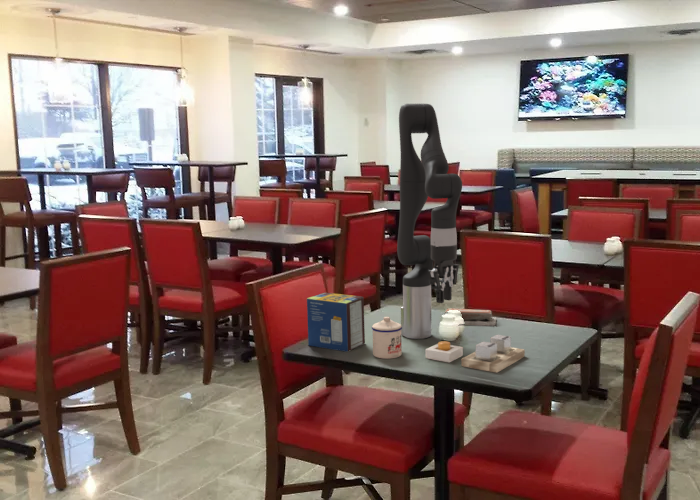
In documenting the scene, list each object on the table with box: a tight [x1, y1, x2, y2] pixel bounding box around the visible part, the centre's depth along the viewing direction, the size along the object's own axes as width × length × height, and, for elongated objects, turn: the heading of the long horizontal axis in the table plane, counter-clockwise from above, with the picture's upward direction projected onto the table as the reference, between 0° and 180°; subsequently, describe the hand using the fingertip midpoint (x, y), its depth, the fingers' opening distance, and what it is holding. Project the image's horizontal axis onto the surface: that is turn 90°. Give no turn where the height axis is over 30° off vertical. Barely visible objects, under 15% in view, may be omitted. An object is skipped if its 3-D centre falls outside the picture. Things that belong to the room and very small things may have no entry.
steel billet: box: [475, 341, 497, 363], centre depth 203 cm, size 4×4×6 cm
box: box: [424, 343, 464, 363], centre depth 212 cm, size 8×8×3 cm
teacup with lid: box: [371, 316, 403, 360], centre depth 218 cm, size 12×9×12 cm
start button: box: [437, 340, 451, 351], centre depth 212 cm, size 4×4×2 cm
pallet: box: [460, 346, 526, 373], centre depth 207 cm, size 11×18×2 cm, turn 143°
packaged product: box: [444, 307, 497, 327], centre depth 255 cm, size 18×5×10 cm
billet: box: [489, 334, 512, 355], centre depth 210 cm, size 4×4×6 cm
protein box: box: [306, 292, 366, 353], centre depth 229 cm, size 10×15×16 cm
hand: (443, 301), depth 210 cm, fingers open, 3 cm apart
